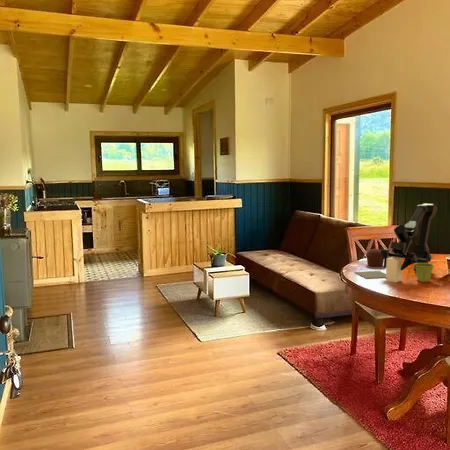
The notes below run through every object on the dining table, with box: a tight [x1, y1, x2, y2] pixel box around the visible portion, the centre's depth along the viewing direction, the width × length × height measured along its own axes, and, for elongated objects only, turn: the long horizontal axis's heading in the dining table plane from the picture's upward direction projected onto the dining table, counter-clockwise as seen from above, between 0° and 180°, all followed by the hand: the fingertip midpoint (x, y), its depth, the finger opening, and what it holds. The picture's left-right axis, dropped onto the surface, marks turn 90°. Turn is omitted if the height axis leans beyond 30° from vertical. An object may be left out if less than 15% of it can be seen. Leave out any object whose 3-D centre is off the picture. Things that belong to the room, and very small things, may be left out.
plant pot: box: [413, 262, 435, 283], centre depth 236 cm, size 9×9×9 cm
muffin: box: [365, 248, 384, 268], centre depth 275 cm, size 12×11×10 cm
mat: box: [354, 270, 386, 280], centre depth 251 cm, size 15×15×1 cm
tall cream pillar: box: [385, 256, 403, 283], centre depth 237 cm, size 6×6×12 cm
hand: (392, 268), depth 236 cm, fingers open, 9 cm apart
